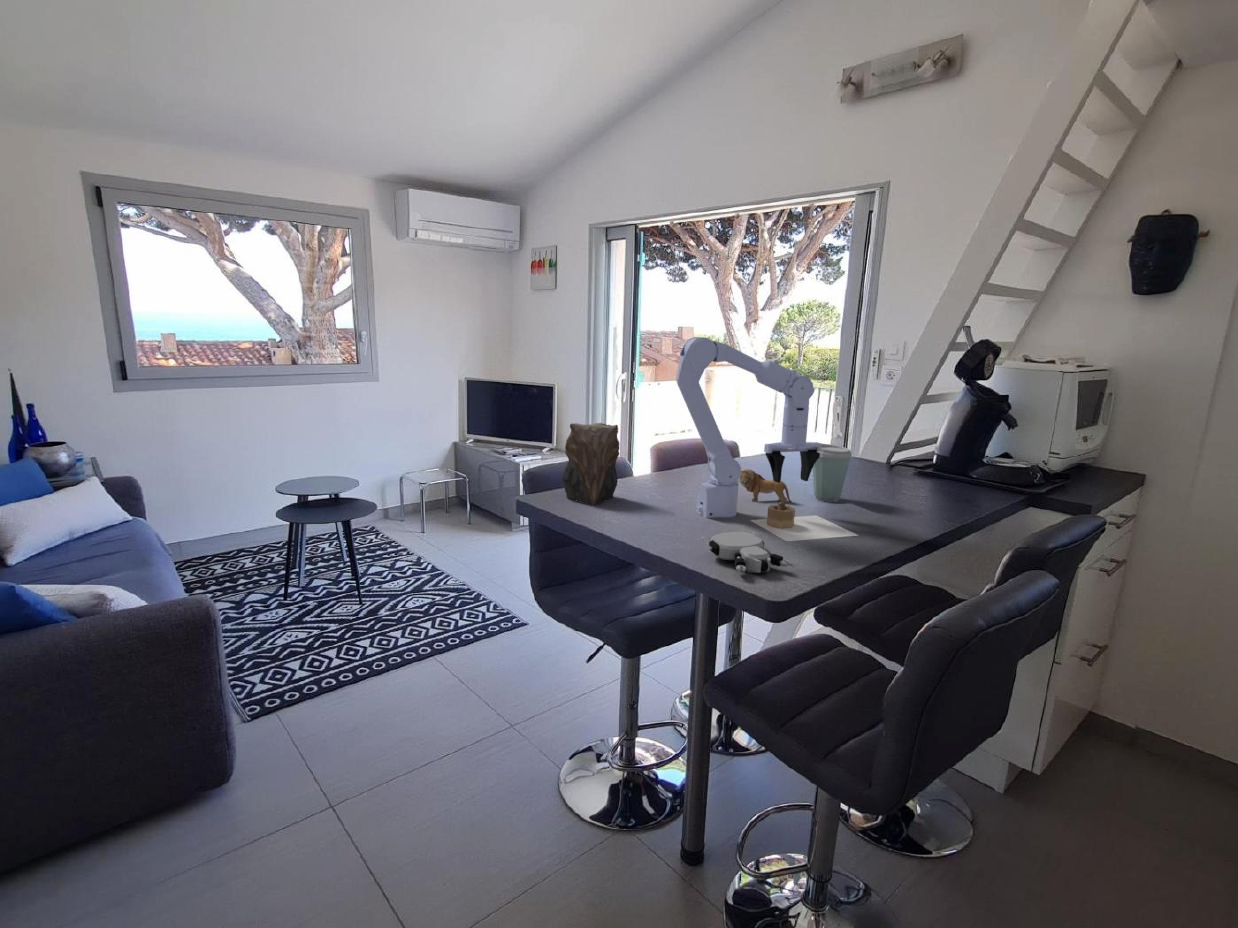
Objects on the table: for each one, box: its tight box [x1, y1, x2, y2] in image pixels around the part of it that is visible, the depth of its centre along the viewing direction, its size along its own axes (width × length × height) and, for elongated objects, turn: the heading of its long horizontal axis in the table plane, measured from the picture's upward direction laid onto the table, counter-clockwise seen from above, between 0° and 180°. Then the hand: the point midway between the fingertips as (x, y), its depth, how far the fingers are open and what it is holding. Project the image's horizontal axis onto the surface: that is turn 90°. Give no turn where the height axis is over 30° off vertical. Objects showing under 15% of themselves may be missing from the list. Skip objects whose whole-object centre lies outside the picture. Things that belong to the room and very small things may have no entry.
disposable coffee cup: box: [812, 443, 852, 503], centre depth 174 cm, size 11×11×15 cm
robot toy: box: [701, 531, 790, 574], centre depth 124 cm, size 12×4×15 cm
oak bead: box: [766, 504, 796, 529], centre depth 146 cm, size 6×6×4 cm
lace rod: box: [777, 501, 786, 510], centre depth 146 cm, size 2×2×6 cm
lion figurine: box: [738, 468, 793, 504], centre depth 169 cm, size 15×5×9 cm, turn 74°
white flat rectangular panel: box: [750, 514, 859, 542], centre depth 145 cm, size 18×16×1 cm
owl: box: [561, 422, 620, 506], centre depth 170 cm, size 13×13×20 cm
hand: (790, 481), depth 154 cm, fingers open, 7 cm apart
